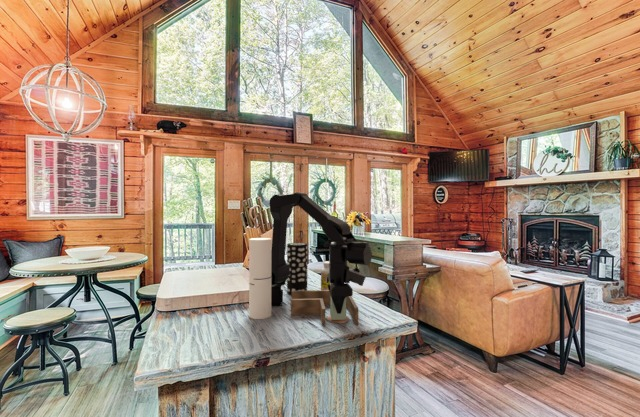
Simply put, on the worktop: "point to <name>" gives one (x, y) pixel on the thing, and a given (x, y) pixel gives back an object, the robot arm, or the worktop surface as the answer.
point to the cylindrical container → (260, 278)
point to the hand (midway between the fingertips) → (338, 310)
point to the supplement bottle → (324, 276)
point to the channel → (319, 305)
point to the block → (334, 313)
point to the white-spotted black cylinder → (297, 267)
